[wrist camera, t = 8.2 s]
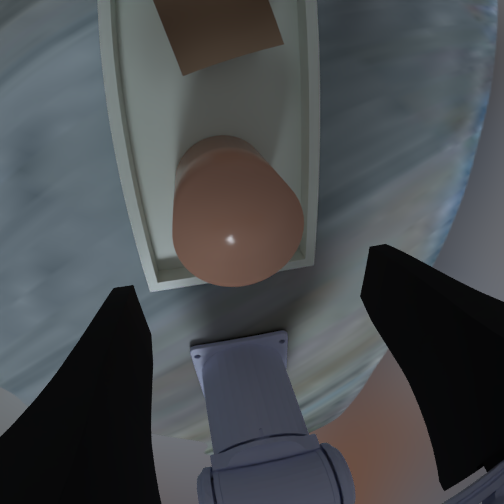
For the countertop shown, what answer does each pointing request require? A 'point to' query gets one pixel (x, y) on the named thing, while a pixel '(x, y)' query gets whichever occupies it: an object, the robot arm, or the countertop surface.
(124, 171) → the tray
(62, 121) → the countertop surface
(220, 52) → the walnut block
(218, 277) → the brown rounded cylinder
